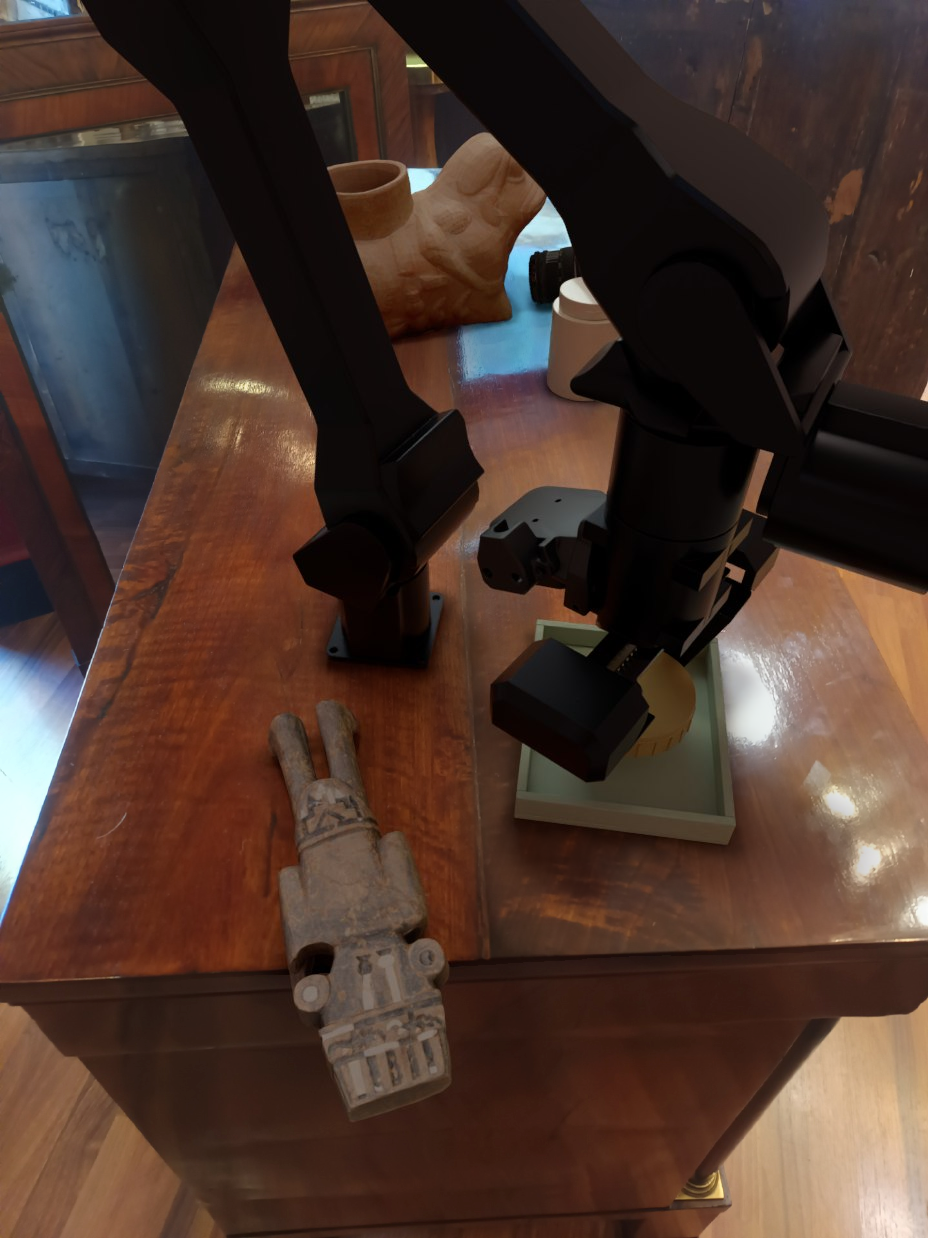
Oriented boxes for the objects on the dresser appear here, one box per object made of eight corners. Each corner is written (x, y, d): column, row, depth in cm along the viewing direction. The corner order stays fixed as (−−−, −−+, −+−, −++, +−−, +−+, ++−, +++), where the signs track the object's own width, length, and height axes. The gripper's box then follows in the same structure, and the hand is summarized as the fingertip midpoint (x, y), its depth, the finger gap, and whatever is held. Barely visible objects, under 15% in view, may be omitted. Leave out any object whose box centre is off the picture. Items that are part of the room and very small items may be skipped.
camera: (548, 280, 93) (537, 186, 86) (645, 270, 90) (641, 171, 83) (528, 340, 83) (514, 238, 76) (637, 331, 80) (632, 224, 73)
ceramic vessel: (566, 314, 84) (581, 152, 74) (317, 361, 77) (294, 190, 67) (511, 263, 93) (517, 112, 83) (284, 301, 86) (258, 142, 76)
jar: (616, 404, 72) (630, 309, 66) (544, 398, 73) (551, 304, 67) (617, 368, 76) (631, 276, 70) (549, 363, 77) (556, 271, 71)
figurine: (255, 774, 47) (325, 1162, 33) (233, 718, 43) (300, 1127, 29) (373, 739, 48) (487, 1099, 34) (360, 682, 45) (482, 1057, 31)
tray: (727, 845, 42) (736, 826, 41) (514, 818, 43) (515, 798, 42) (711, 658, 51) (718, 637, 50) (534, 639, 52) (536, 618, 51)
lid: (608, 643, 49) (611, 623, 48) (713, 699, 46) (719, 679, 45) (543, 715, 45) (544, 695, 44) (652, 781, 42) (658, 761, 41)
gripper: (622, 359, 44) (590, 574, 55) (388, 534, 34) (407, 755, 45) (825, 430, 39) (745, 650, 50) (624, 660, 29) (579, 873, 40)
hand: (623, 721), depth 46 cm, fingers closed on lid, 6 cm apart
